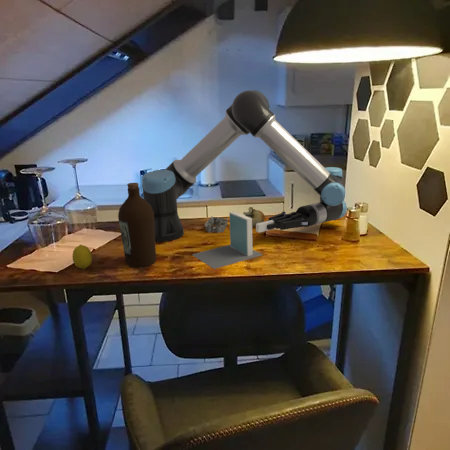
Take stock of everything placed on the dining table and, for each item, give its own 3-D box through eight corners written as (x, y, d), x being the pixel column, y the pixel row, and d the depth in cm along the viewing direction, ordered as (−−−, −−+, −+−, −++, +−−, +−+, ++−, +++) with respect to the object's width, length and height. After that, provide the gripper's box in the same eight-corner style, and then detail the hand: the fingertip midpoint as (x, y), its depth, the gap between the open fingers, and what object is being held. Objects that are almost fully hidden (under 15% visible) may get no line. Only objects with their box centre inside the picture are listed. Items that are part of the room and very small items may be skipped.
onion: (263, 230, 153) (263, 209, 150) (242, 229, 155) (241, 209, 152) (265, 224, 160) (265, 204, 157) (245, 223, 162) (245, 203, 159)
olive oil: (151, 252, 135) (144, 178, 127) (163, 263, 126) (156, 184, 118) (119, 260, 130) (110, 183, 122) (129, 271, 121) (120, 189, 113)
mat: (238, 244, 140) (238, 242, 139) (263, 256, 128) (262, 254, 128) (191, 256, 131) (191, 254, 130) (214, 270, 119) (214, 268, 119)
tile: (235, 245, 136) (234, 211, 133) (252, 254, 128) (252, 218, 125) (230, 247, 135) (228, 212, 132) (247, 256, 127) (246, 219, 124)
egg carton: (222, 234, 151) (222, 223, 150) (203, 233, 153) (202, 222, 151) (229, 225, 161) (229, 215, 159) (211, 224, 163) (211, 214, 161)
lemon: (94, 271, 122) (90, 246, 120) (74, 274, 120) (70, 249, 118) (93, 264, 127) (89, 240, 124) (74, 267, 125) (70, 243, 123)
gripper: (323, 229, 141) (269, 244, 129) (297, 220, 151) (246, 233, 139) (324, 208, 138) (269, 221, 127) (298, 201, 149) (245, 212, 137)
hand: (257, 228), depth 133 cm, fingers closed
